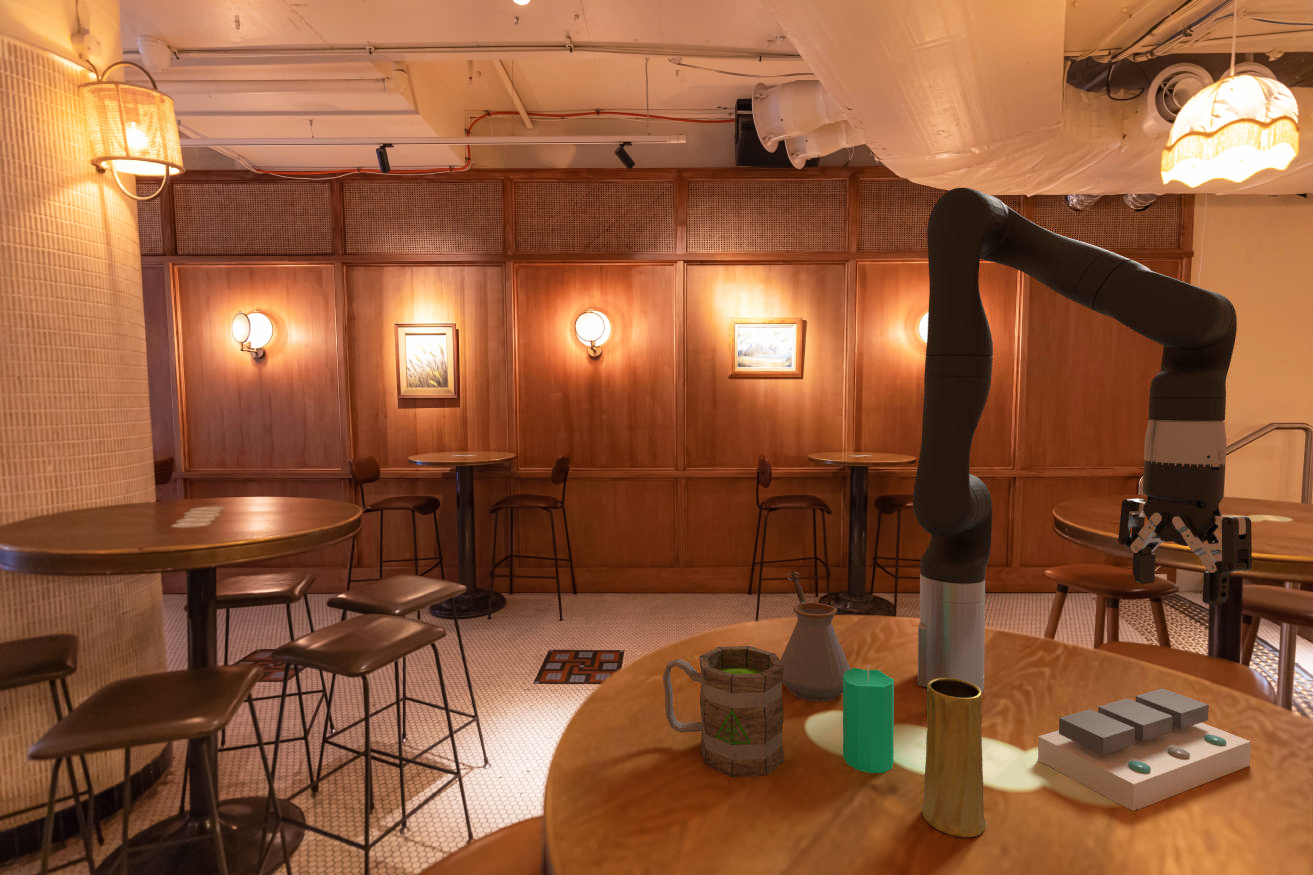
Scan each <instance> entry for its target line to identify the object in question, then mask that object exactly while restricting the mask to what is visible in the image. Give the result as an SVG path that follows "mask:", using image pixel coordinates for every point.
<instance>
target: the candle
mask: <svg viewBox="0 0 1313 875" xmlns="http://www.w3.org/2000/svg"><path fill="white" fill-rule="evenodd" d="M894 698H895V678H893V677H890V676H889V675H887V674H885V673H883V672H882V671H880V670H879V669H870V665H869V664H867V669H865V668H864V669H863V668H858V667H857V668H856V667H852V668H851V669H850V670H847V671H845V673H844V676H843V693H842V758H843V760H844V761H845V764H847V765H848V766H849V767H852V768H853V769H855V770H857V771H860V772H864V773H869V774H881V773H882V774H883V773H886V772H888V771H890V770H892V769H893V766H894V753H895V752H894V746H895V745H894V736H895V735H894V734H895V732H894V729H895V728H894V726H895V720H894V719H895V716H894V714H895V711H894V708H895V704H894V703H895V699H894Z"/></svg>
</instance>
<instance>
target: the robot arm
mask: <svg viewBox="0 0 1313 875" xmlns="http://www.w3.org/2000/svg"><path fill="white" fill-rule="evenodd" d="M926 229H927V230H926V240H927V241H926V243H927V261H928V262H927V264H928V278H929V279H928V280H929V281H928V282H929V287H928V288H929V289H928V290H929V294H928V314H927V336H926V347H925V359H924V362H925V363H924V375H923V376H924V379H923V381H924V382H923V384H924V386H923V405H922V422H921V423H922V424H921V425H922V426H921V427H922V428H921V442H920V450H919V456H918V462H917V468H916V475H915V480H914V486H913V490H912V491H913V492H912V510H913V511H912V512H913V514H914V517H915V519H916V521H917V522H918V524H919V525H920V527H921V528H922V529H923V530H924V531H926V532H927V533H929V534H931V535H930V540H929V543H928V546H927V547H926V549H925V551H924V552H923V553H922V555H921V556H920V561H919V562H920V563H919V564H920V565H919V568H920V569H919V572H920V575H919V580H920V581H919V582H920V583H919V586H920V587H919V623H918V626H917V627H918V629H917V685H918V686H919V687H924V688H927V684H928V682H929V681H930V680H932V679H935V678H955V679H960V680H964V681H967V682H970V683H972V684H974V685H976V686H977V687H979V688H980V690H981V692H982V693H983V692H984V690H985V638H986V637H985V636H986V635H985V634H986V632H985V628H986V627H985V624H986V620H985V615H986V611H985V610H986V609H985V608H986V572H987V571H986V570H987V566H988V563H989V561H990V557H991V551H992V533H993V532H992V531H993V502H992V497H991V493H990V490H989V488H988V487H987V485H986V484H985V483H984V481H982V480H981V479H980V478H979V477H978V476H976V475H973V474H971V473H970V465H971V449H972V443H973V441H974V440H973V439H974V436H975V433H976V430H977V427H978V425H979V422H980V420H981V418H982V414H983V413H984V412H983V411H984V409H985V406H986V404H987V401H988V398H989V394H990V390H991V384H992V375H993V360H994V357H993V356H994V344H993V336H992V331H991V328H990V322H989V321H988V320H989V319H988V316H987V314H986V311H985V308H984V305H983V301H982V297H981V292H980V280H979V279H980V278H979V276H980V274H979V273H980V262H981V260H983V261H985V262H986V261H987V262H991V263H995V264H1000V265H1003V266H1007V267H1009V268H1012V269H1015V270H1017V271H1020V272H1022V273H1024V274H1026V275H1028V276H1029V277H1031V278H1033V279H1034V280H1037V281H1038V282H1040V283H1041V284H1042V285H1044V286H1046V287H1047V288H1048V289H1050V290H1052V291H1053V292H1055V293H1057V294H1059V295H1061V296H1063V297H1064V298H1067V299H1068V300H1071V301H1073V302H1074V303H1076V304H1079V305H1081V306H1083V307H1085V308H1087V309H1090V310H1092V311H1093V312H1096V313H1098V314H1101V315H1103V316H1106V317H1109V318H1112V319H1114V320H1116V321H1117V322H1118V323H1120V324H1122V325H1124V326H1126V327H1127V328H1129V329H1131V330H1132V331H1134V332H1136V333H1137V334H1140V336H1143V337H1145V338H1147V339H1149V340H1150V341H1153V342H1155V343H1157V344H1160V345H1161V346H1163V347H1162V355H1161V365H1160V371H1158V373H1157V374H1156V375H1155V376H1153V378H1152V380H1151V382H1150V388H1149V396H1148V397H1149V399H1148V418H1147V419H1148V421H1147V427H1146V432H1145V436H1144V446H1143V448H1144V451H1143V452H1144V453H1143V470H1142V472H1143V474H1142V494H1144V496H1146V497H1147V498H1146V500H1145V499H1143V498H1126V499H1123V500H1122V502H1121V505H1120V506H1121V508H1120V516H1119V517H1120V519H1119V529H1118V536H1117V537H1118V538H1117V539H1118V543H1119V544H1120V545H1122V546H1123V545H1124V546H1127V547H1128V548H1130V550H1131V552H1132V553H1133V555H1132V575H1133V577H1134V580H1135V582H1136V583H1139V584H1142V585H1144V584H1153V583H1154V582H1155V574H1156V573H1155V572H1156V557H1157V556H1156V555H1157V554H1156V553H1154V552H1155V551H1156V550H1157V549H1158V547H1160V546H1161V544H1162V543H1165V542H1168V543H1169V542H1173V543H1175V544H1177V545H1179V546H1184V547H1188V548H1189V550H1190V551H1191V552H1192V553H1193V555H1196V556H1198V558H1199V559H1200V561H1201V562H1202V565H1203V567H1204V568H1205V569H1206V571H1203V578H1202V580H1203V582H1202V584H1203V585H1202V603H1204V604H1206V605H1209V606H1221V605H1224V603H1225V602H1226V601H1228V599H1229V597H1230V593H1229V592H1230V589H1229V588H1230V576H1231V574H1232V573H1233V572H1244V571H1250V570H1252V567H1253V560H1252V559H1253V557H1252V556H1253V550H1252V549H1253V546H1252V545H1253V544H1252V540H1253V539H1252V519H1251V518H1250V517H1248V516H1246V515H1242V516H1241V515H1235V516H1233V515H1231V516H1230V515H1229V516H1228V515H1223V514H1222V513H1221V511H1220V503H1221V502H1222V500H1223V499H1224V498H1225V480H1226V461H1227V431H1226V421H1225V420H1226V409H1227V408H1226V405H1227V377H1228V372H1229V371H1230V365H1231V361H1232V356H1233V352H1234V348H1235V343H1236V337H1237V328H1238V325H1237V324H1238V321H1237V320H1238V319H1237V313H1236V308H1235V307H1234V305H1233V303H1232V302H1231V301H1230V299H1228V297H1226V296H1224V295H1223V294H1221V293H1219V292H1216V291H1212V290H1209V289H1206V288H1202V287H1200V286H1196V285H1195V284H1194V285H1193V284H1190V283H1188V282H1185V281H1182V280H1179V279H1177V278H1174V277H1171V276H1167V275H1165V274H1162V273H1159V272H1155V271H1152V270H1151V268H1149V267H1147V266H1145V265H1143V264H1142V263H1140V262H1137V261H1135V260H1133V259H1130V258H1128V257H1125V256H1122V255H1120V254H1118V253H1116V252H1113V251H1110V250H1108V249H1105V248H1103V247H1099V246H1096V245H1093V244H1092V243H1091V244H1090V243H1087V242H1083V241H1080V240H1077V239H1075V238H1070V237H1067V236H1065V235H1061V234H1058V233H1056V232H1054V231H1051V230H1049V229H1046V228H1045V227H1042V226H1040V225H1038V224H1036V223H1034V222H1032V221H1031V220H1029V219H1027V218H1026V217H1024V216H1023V215H1021V214H1020V213H1018V212H1017V211H1015V209H1014V210H1013V209H1012V208H1011V207H1010V206H1008V205H1007V204H1005V203H1004V202H1003V201H1002V200H1000V199H999V198H997V197H996V196H993V195H991V194H988V193H985V192H982V191H979V190H977V189H973V188H969V187H955V188H952V189H950V190H948V191H946V192H944V193H943V195H941V196H940V197H939V198H938V199H937V201H936V202H935V203H934V205H933V207H932V209H931V212H930V215H929V217H928V222H927V228H926ZM1145 519H1147V521H1148V522H1146V524H1145ZM1218 533H1221V537H1220V535H1219V534H1218ZM1206 542H1207V543H1206Z"/></svg>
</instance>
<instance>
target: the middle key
mask: <svg viewBox="0 0 1313 875" xmlns="http://www.w3.org/2000/svg"><path fill="white" fill-rule="evenodd" d="M1135 701H1136V700H1132V699H1130V698H1128V697H1127V698H1123V699H1120V700H1116V701H1113V702H1109V703H1105V704H1102V705H1098V707H1097V709H1098V710H1097V712H1098V713H1101V714H1103V715H1105V716H1108V717H1110V718H1112V719H1115V720H1117V721H1119V722H1122V723H1124V724H1127V725H1129V726H1131V727H1134V728H1135V739H1137V740H1140V741H1142V742H1144V741H1147V740H1150V739H1153V738H1156V737H1159V736H1162V735H1165V734H1168V733H1171V732H1172V722H1173V716H1171V715H1169V714H1166V713H1163V712H1161V711H1158V710H1156V709H1153V708H1151V707H1148V706H1145V705H1143V704H1140V703H1138V702H1135Z"/></svg>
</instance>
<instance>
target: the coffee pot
mask: <svg viewBox="0 0 1313 875" xmlns="http://www.w3.org/2000/svg"><path fill="white" fill-rule="evenodd" d="M789 575H791V578H789V577H788V576H789ZM786 579H787V580H789V581H791V582H792V583H793V586H794V587H793V588H794V592H795V594H796V596H797V598H798V601H799V603H797V604H796V605H794V606H793V608H792V610H793V613H795V614H796V617H797V618H796V619H797V621H796V624H795V626H794V628H793V630H792V632H791V635H790V637H789V640H788V642H787V644H786V646H785V648H784V651H783V653H782V655H781V656H780V659H779V660H780V661H781V663H782V664H783V666H784V668H783V676H782V685H783V686H785V688H786V689H788V690H789V692H790V693H791V694H793V695H794V696H795V697H797V698H800V699H803V700H806V701H813V702H828V701H832V700H835V699H837V698H839V696H840V695H843V676H844V673H845V671H847V670H850V669H852V668H851V666H850V663H849V661H848V659H847V656H846V654H845V652H844V650H843V646H842V645H841V643H840V640H839V638H838V635H837V633H836V631H835V628H834V626H833V624H832V623H833V622H832V621H833V619H834V618H835V614H837V612H838V608H837V607H835V606H832V605H829V604H825V603H819V602H806V598H805V594H804V591H803V587H802V585H801V583H800V582H799V581H800V573H799V572H797V571H795V570H791V571H790V572H788V573H787V574H786Z"/></svg>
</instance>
